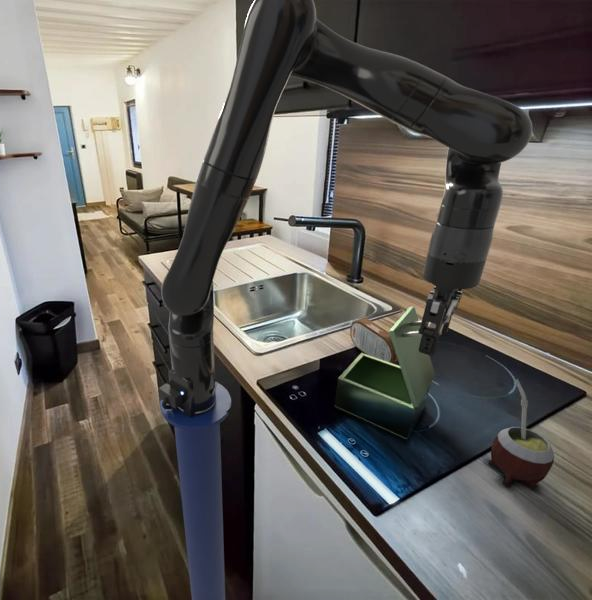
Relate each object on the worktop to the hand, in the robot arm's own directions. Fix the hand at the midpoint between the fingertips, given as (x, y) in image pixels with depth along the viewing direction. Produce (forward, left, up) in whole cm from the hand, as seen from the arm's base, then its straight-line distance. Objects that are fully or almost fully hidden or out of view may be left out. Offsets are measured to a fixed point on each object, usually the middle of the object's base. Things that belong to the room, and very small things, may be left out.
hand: (432, 342), depth 63 cm
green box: (0, +6, -18) cm, 19 cm away
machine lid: (0, +3, -4) cm, 5 cm away
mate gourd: (-2, -15, -18) cm, 24 cm away
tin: (+18, +14, -18) cm, 29 cm away
